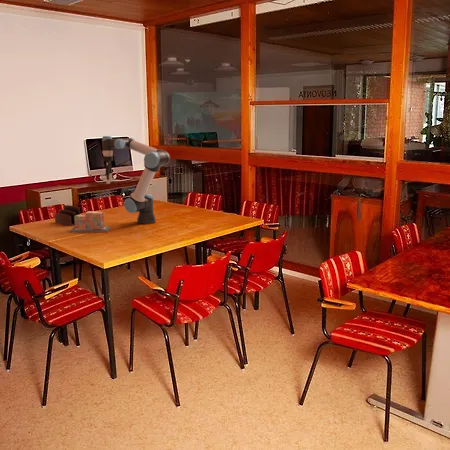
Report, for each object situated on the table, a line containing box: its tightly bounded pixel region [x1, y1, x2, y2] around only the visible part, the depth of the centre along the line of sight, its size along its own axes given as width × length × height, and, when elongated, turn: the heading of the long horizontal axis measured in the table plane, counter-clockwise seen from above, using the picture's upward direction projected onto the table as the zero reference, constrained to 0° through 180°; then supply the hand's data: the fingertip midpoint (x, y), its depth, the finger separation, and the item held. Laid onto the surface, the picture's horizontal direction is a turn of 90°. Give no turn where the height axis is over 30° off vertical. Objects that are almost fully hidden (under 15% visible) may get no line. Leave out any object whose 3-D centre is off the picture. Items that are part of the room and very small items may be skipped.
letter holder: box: [54, 204, 81, 227], centre depth 393 cm, size 10×20×14 cm, turn 56°
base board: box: [70, 225, 111, 233], centre depth 372 cm, size 27×13×2 cm, turn 93°
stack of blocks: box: [74, 210, 105, 229], centre depth 370 cm, size 21×6×12 cm, turn 79°
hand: (109, 182), depth 395 cm, fingers open, 13 cm apart
